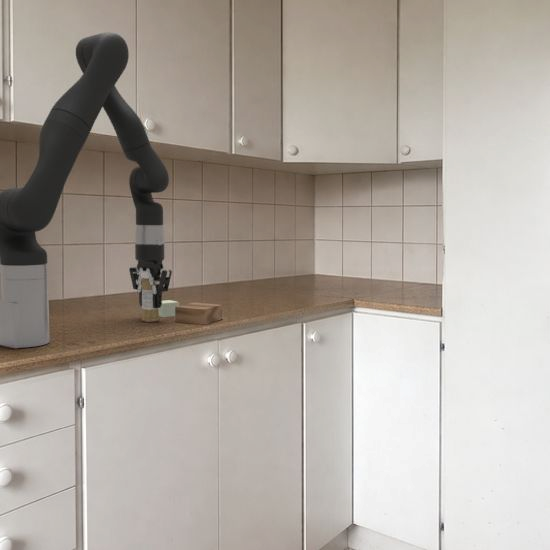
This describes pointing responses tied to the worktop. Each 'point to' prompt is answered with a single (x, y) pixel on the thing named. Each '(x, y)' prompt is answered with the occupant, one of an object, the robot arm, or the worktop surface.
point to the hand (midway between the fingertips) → (150, 306)
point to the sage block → (168, 308)
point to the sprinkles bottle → (148, 300)
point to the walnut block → (198, 313)
